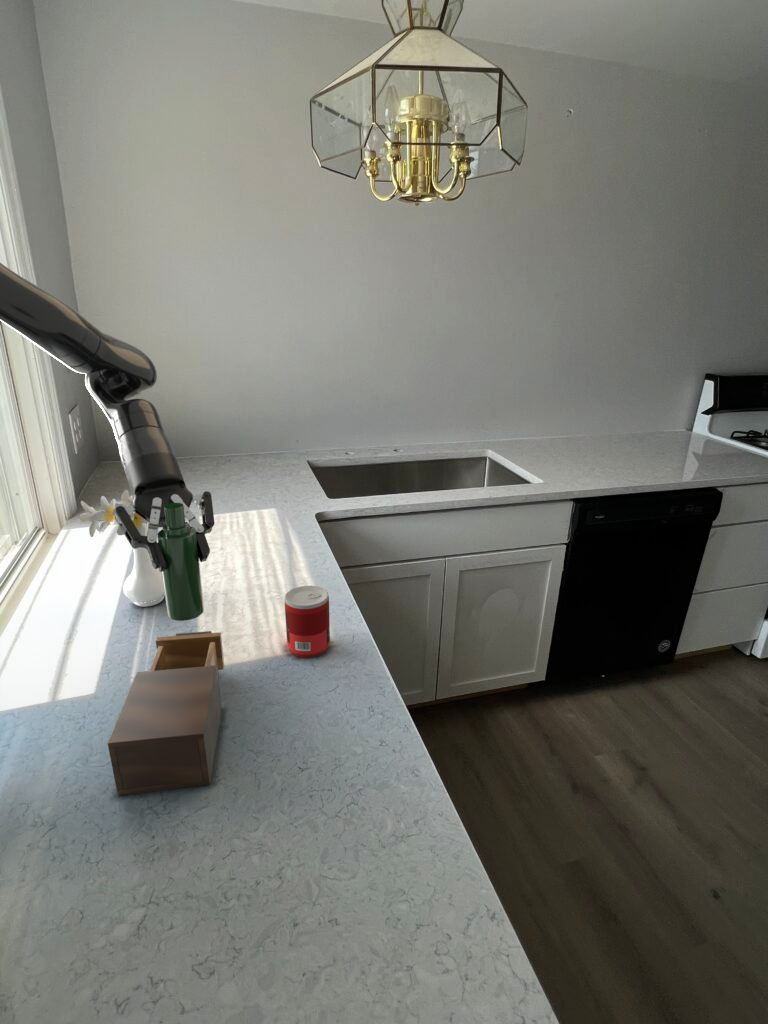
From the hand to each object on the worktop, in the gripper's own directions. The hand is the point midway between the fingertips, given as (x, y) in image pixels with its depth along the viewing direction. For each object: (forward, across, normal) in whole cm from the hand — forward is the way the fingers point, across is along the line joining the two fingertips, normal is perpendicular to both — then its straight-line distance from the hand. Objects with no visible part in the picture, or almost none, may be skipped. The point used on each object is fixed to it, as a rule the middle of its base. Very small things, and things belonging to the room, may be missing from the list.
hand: (184, 564), depth 79 cm
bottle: (+5, 0, +7) cm, 9 cm away
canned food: (+14, +22, +22) cm, 34 cm away
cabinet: (+22, -6, +14) cm, 27 cm away
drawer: (+13, 0, +21) cm, 25 cm away
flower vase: (-10, +2, +46) cm, 48 cm away
